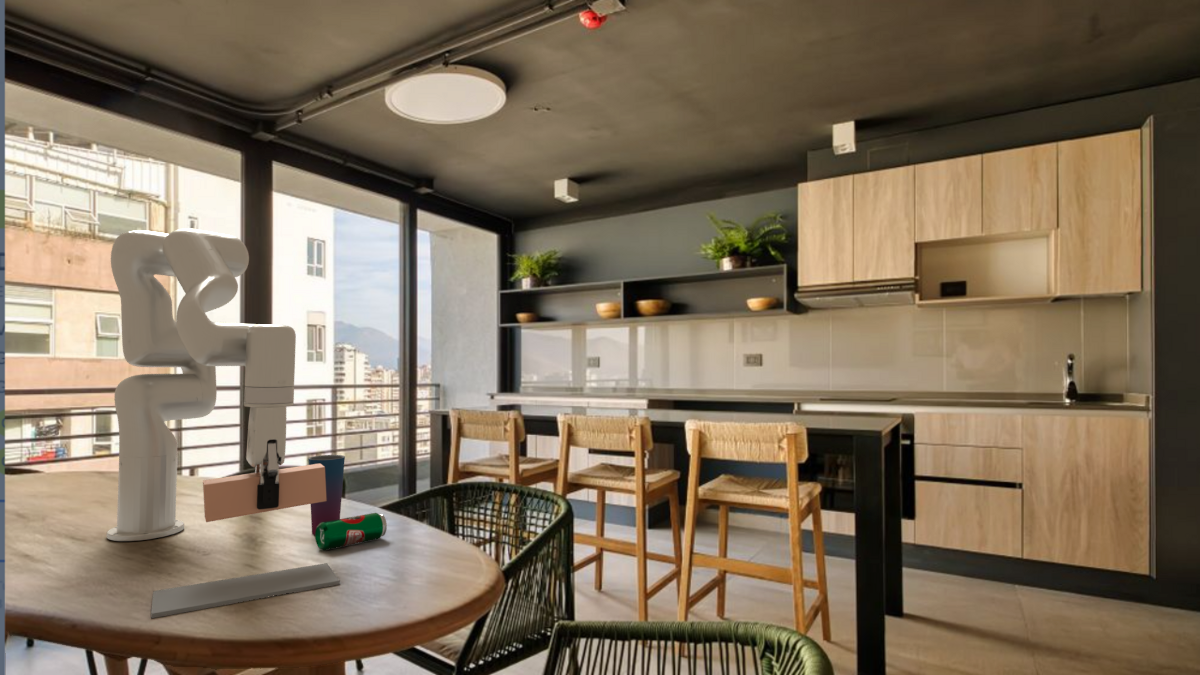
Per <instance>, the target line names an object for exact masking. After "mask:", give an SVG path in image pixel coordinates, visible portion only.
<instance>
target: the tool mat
mask: <svg viewBox="0 0 1200 675" xmlns="http://www.w3.org/2000/svg"><path fill="white" fill-rule="evenodd" d="M336 585H337V586H338V585H341V580H340V579H339V577H338V576H337V574H336V573H335V572H334V570H333V568H331V566H330V565H329V564H328V563H319V564H314V565H313V564H311V565H308V566H301V567H295V568H294V567H293V568H289V569H282V570H275V571H271V572H269V571H268V572H264V573H263V572H262V573H257V574H256V573H255V574H251V575H245V576H238V577H233V578H228V579H227V578H226V579H220V580H214V581H208V582H202V583H201V582H200V583H196V584H189V585H183V586H177V587H171V588H165V589H159V590H153V591H152V599H151V600H152V601H151V613H150V618H151V619H155V618H161V617H166V616H171V615H177V614H183V613H188V612H193V611H199V610H200V611H201V610H205V609H210V608H215V607H222V606H227V605H233V604H238V602H239V603H242V602H243V601H244V602H248V601H249V600H250V601H254V600H253V599H255V600H260V599H259V598H261V599H264V598H263V597H266V598H269V597H268V596H272V597H274V596H273V595H277V596H281V595H280V594H283V595H287V594H286V593H289V594H293V593H292V592H294V593H297V592H298V593H300V592H304V591H310V590H315V589H321V588H327V587H333V586H336ZM244 602H243V603H244Z"/></svg>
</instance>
